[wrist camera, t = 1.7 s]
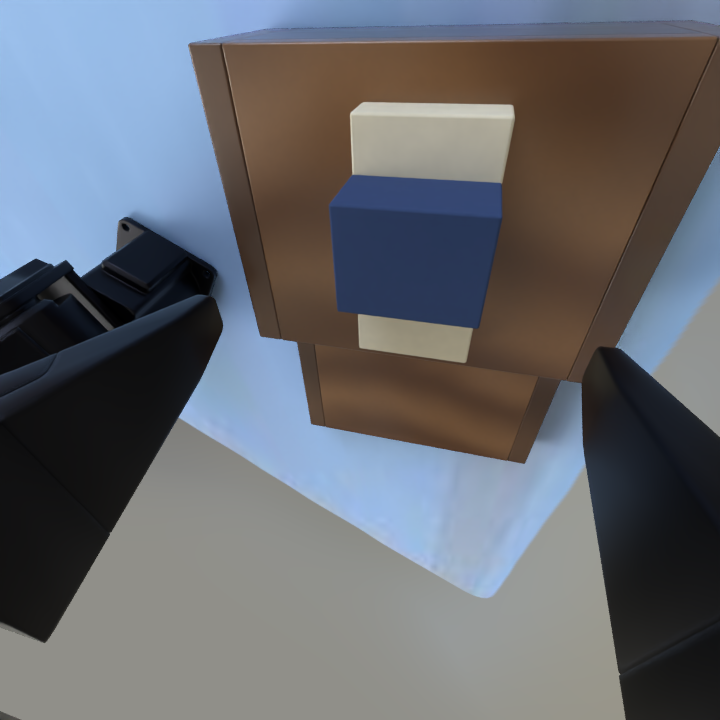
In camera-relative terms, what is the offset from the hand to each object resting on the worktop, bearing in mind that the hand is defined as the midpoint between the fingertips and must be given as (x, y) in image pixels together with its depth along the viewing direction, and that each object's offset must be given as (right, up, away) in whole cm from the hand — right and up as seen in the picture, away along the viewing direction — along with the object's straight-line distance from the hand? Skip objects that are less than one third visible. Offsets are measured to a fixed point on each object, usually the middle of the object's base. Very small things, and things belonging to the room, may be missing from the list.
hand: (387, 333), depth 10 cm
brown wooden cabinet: (+3, +3, +14) cm, 15 cm away
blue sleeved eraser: (+2, +4, +6) cm, 7 cm away
